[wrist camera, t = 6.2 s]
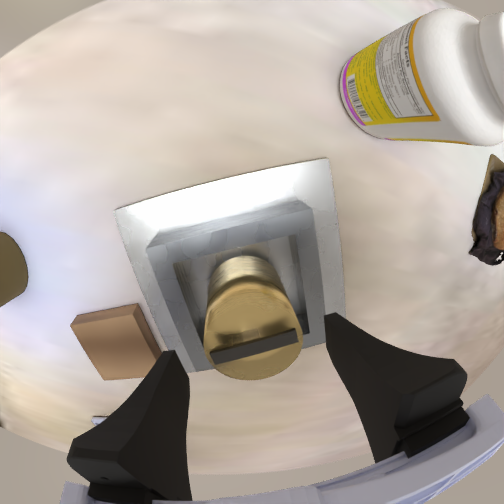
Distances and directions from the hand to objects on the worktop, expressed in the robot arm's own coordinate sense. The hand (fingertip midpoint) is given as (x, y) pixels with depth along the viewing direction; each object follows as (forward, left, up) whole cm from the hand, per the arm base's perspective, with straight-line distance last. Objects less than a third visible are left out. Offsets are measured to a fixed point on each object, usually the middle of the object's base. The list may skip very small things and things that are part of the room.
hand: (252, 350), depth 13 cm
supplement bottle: (+11, -12, -8) cm, 18 cm away
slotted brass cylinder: (0, 0, -7) cm, 7 cm away
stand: (-3, +11, -7) cm, 14 cm away
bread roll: (0, -26, -8) cm, 27 cm away
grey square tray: (0, 0, -7) cm, 7 cm away
